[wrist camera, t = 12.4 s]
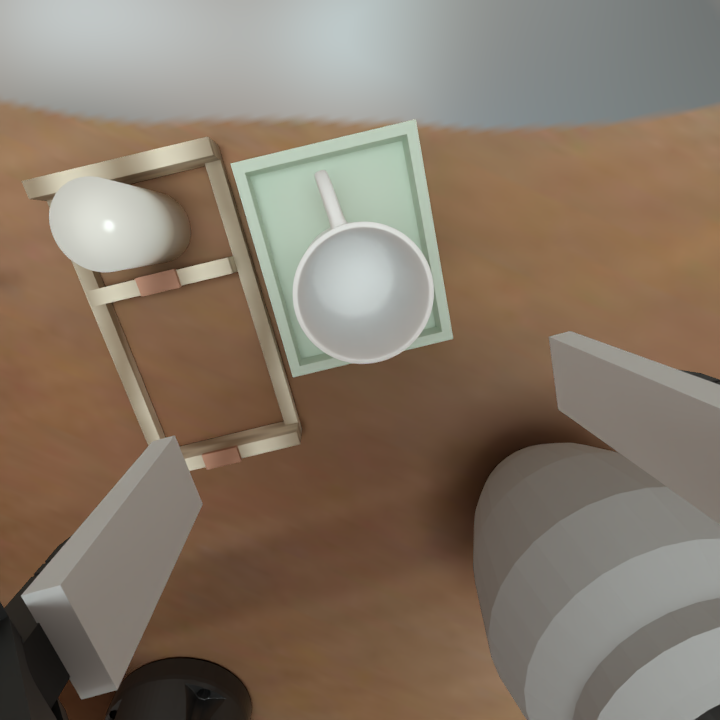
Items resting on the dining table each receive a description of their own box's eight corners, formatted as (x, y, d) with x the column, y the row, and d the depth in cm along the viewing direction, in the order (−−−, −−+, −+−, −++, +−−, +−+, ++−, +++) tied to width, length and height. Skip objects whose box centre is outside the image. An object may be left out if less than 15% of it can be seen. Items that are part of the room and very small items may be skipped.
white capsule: (134, 269, 35) (72, 281, 27) (108, 200, 34) (33, 188, 25) (200, 254, 35) (158, 260, 27) (177, 183, 34) (125, 166, 25)
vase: (645, 514, 46) (974, 806, 22) (478, 592, 47) (624, 944, 24) (587, 358, 40) (941, 529, 17) (400, 452, 42) (491, 728, 18)
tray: (295, 366, 39) (292, 377, 36) (238, 169, 34) (230, 163, 31) (443, 331, 39) (453, 338, 36) (408, 128, 34) (415, 119, 31)
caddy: (162, 463, 40) (147, 484, 37) (48, 185, 33) (17, 180, 30) (302, 430, 40) (300, 447, 37) (218, 145, 33) (206, 135, 30)
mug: (277, 194, 34) (250, 173, 22) (383, 167, 34) (411, 133, 22) (316, 337, 37) (310, 383, 26) (412, 313, 37) (450, 349, 26)
